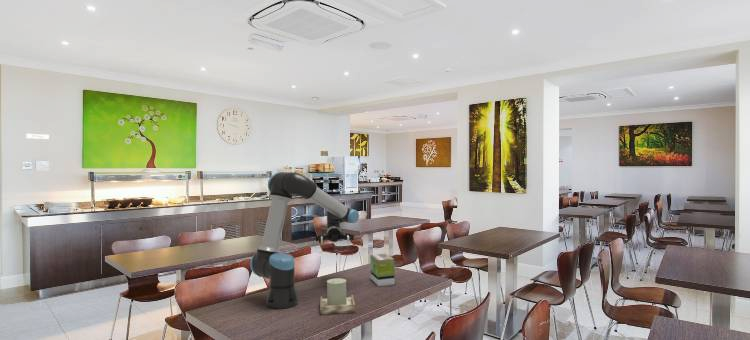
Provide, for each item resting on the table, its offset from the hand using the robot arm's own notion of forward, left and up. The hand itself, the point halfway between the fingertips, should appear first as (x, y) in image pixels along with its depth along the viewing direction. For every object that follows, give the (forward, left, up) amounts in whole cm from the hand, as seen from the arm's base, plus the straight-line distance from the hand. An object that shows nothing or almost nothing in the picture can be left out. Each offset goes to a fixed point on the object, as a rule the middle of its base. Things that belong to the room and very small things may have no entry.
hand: (335, 240), depth 210 cm
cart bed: (0, -19, -28) cm, 34 cm away
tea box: (+27, +20, -28) cm, 44 cm away
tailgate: (0, -9, -28) cm, 29 cm away
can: (0, -19, -27) cm, 33 cm away
